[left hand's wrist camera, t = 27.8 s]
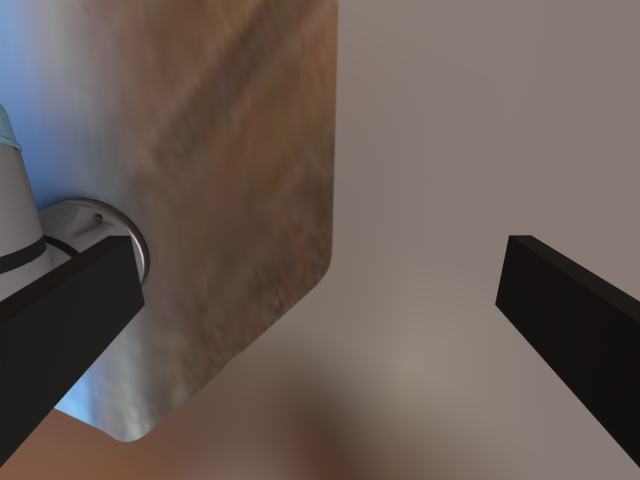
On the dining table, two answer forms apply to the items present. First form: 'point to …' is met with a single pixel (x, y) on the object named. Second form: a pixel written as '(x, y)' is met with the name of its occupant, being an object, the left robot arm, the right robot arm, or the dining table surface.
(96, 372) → the dining table surface
